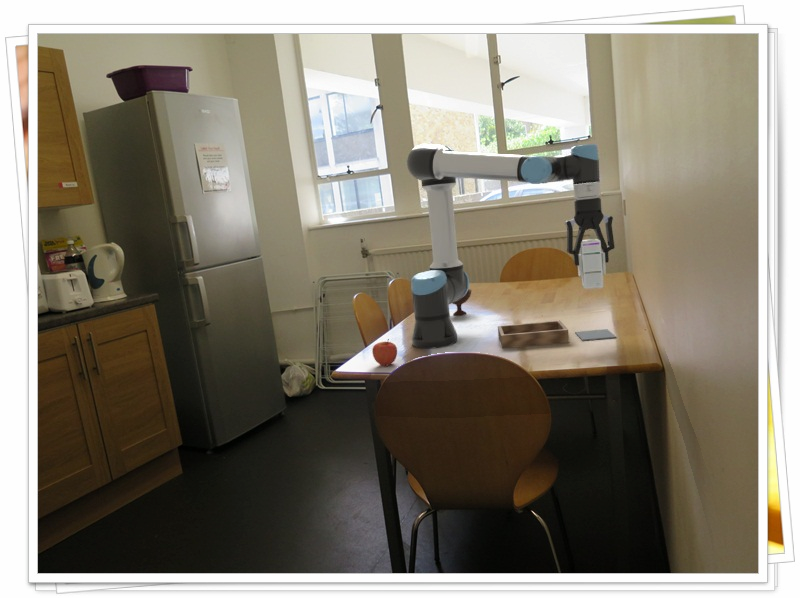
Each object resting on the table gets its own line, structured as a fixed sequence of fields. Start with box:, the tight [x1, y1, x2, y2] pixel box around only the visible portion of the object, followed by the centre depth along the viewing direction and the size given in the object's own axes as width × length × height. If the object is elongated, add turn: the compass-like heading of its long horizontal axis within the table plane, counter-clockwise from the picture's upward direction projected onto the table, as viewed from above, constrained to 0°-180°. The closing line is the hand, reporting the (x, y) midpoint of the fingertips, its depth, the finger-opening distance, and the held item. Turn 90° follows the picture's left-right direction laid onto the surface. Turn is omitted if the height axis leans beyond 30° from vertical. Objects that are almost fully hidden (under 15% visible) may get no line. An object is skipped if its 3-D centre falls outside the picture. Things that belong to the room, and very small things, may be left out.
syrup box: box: [579, 238, 604, 290], centre depth 172 cm, size 6×6×14 cm
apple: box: [371, 338, 398, 367], centre depth 169 cm, size 7×7×8 cm
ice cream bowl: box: [451, 289, 472, 317], centre depth 229 cm, size 11×11×15 cm
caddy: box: [497, 320, 570, 349], centre depth 179 cm, size 20×13×4 cm, turn 85°
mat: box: [574, 328, 617, 342], centre depth 176 cm, size 10×10×1 cm
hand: (592, 274), depth 173 cm, fingers closed on syrup box, 6 cm apart
